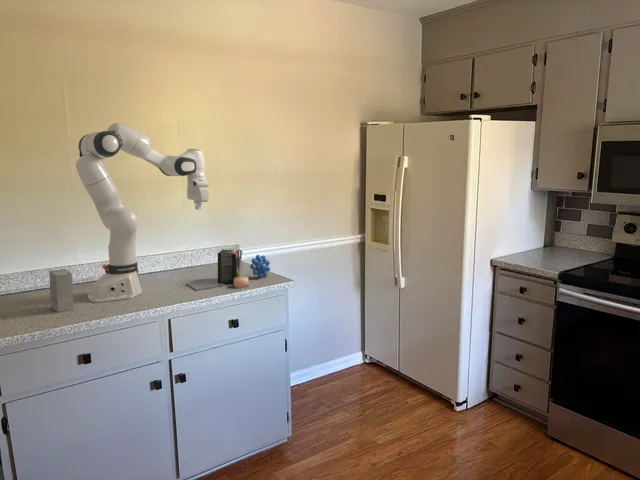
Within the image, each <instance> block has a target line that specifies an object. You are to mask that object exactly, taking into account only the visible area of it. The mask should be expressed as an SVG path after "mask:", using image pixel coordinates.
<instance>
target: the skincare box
mask: <svg viewBox="0 0 640 480" xmlns="http://www.w3.org/2000/svg"><path fill="white" fill-rule="evenodd" d="M48 272H49V287H50V288H49V290H50V291H49V292H50V308H51V309H52V310H53V311H54V312H57V313H61V312H62V313H63V312H66V311H72V310H74V309H75V308H74V292H73V291H74V290H73V289H74V288H73V286H74V285H73V273H72V271H70V270H69V269H66V268H62V269H61V268H60V269H53V270H49V271H48Z"/></svg>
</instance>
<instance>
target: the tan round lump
mask: <svg viewBox="0 0 640 480" xmlns="http://www.w3.org/2000/svg"><path fill="white" fill-rule="evenodd" d="M249 284H250V283H249V277H248V276H242V275H240V277H235V278H234V283H233V288H235V289H246V288H249V286H250V285H249Z"/></svg>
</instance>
